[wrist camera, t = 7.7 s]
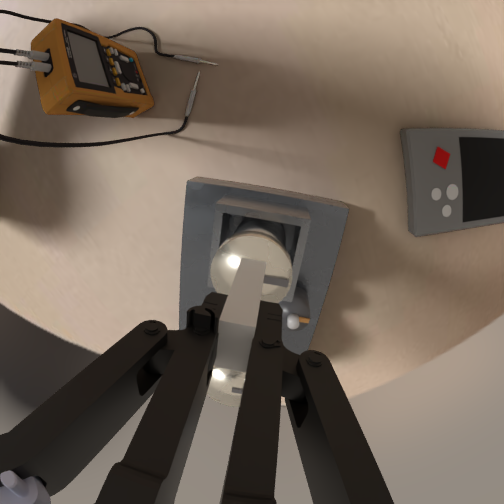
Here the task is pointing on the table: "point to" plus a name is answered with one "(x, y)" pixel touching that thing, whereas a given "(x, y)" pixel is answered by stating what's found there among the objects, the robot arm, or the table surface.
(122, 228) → the table surface
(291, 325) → the knob
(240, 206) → the mount
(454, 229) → the electronic device
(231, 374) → the knob
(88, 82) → the multimeter
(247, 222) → the knob
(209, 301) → the robot arm
